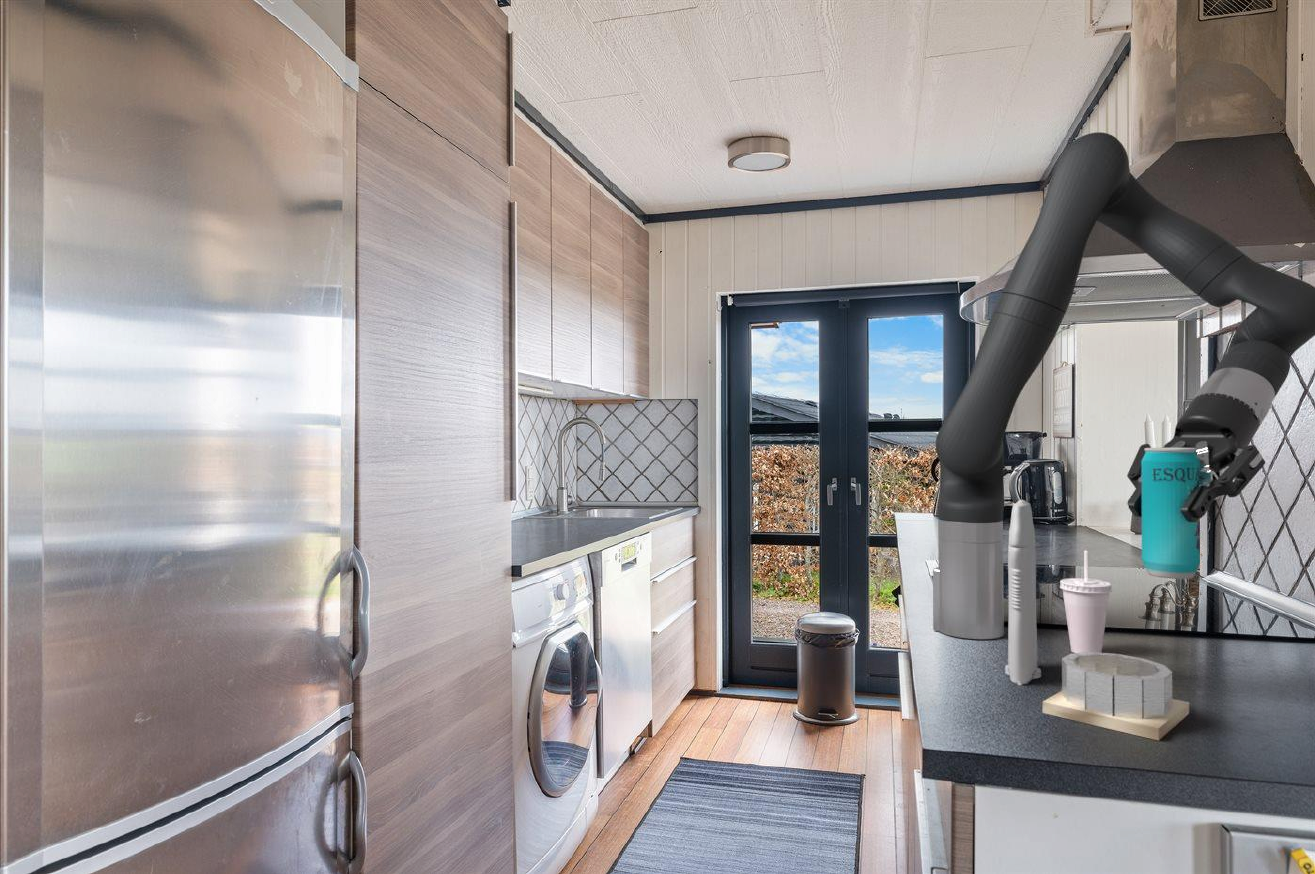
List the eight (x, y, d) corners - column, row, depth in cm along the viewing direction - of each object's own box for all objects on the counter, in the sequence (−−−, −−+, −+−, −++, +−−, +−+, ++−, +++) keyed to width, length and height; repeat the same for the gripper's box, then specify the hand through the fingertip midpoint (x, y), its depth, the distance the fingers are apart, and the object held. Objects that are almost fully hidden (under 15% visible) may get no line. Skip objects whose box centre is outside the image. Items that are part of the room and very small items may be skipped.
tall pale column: (1036, 688, 94) (1034, 503, 94) (999, 683, 97) (997, 502, 97) (1045, 666, 103) (1043, 497, 103) (1010, 661, 106) (1009, 496, 106)
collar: (1049, 701, 86) (1048, 664, 86) (1082, 681, 93) (1082, 647, 93) (1154, 725, 79) (1154, 685, 79) (1182, 702, 86) (1182, 665, 86)
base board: (1042, 712, 86) (1042, 701, 86) (1079, 690, 94) (1079, 680, 94) (1158, 740, 78) (1158, 728, 78) (1189, 713, 86) (1189, 702, 86)
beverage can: (1201, 581, 89) (1200, 448, 89) (1141, 577, 93) (1141, 448, 92) (1198, 573, 94) (1198, 447, 94) (1142, 569, 97) (1141, 447, 97)
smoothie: (1118, 651, 110) (1117, 550, 110) (1105, 660, 106) (1104, 555, 106) (1068, 643, 115) (1067, 546, 115) (1054, 652, 110) (1053, 551, 110)
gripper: (1153, 394, 103) (1089, 489, 98) (1277, 388, 90) (1209, 497, 85) (1180, 434, 105) (1118, 529, 100) (1305, 434, 92) (1240, 543, 87)
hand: (1160, 514), depth 93 cm, fingers closed on beverage can, 5 cm apart
